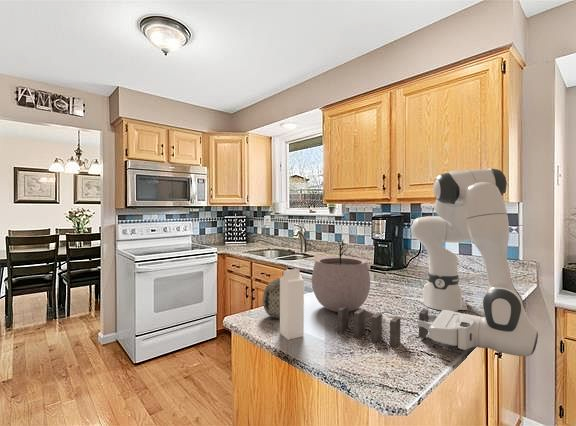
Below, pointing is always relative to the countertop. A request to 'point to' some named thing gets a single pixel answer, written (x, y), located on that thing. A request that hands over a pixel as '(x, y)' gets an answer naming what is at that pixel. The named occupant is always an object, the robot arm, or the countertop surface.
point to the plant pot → (341, 281)
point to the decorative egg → (272, 298)
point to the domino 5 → (424, 316)
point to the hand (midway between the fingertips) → (420, 319)
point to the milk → (292, 304)
